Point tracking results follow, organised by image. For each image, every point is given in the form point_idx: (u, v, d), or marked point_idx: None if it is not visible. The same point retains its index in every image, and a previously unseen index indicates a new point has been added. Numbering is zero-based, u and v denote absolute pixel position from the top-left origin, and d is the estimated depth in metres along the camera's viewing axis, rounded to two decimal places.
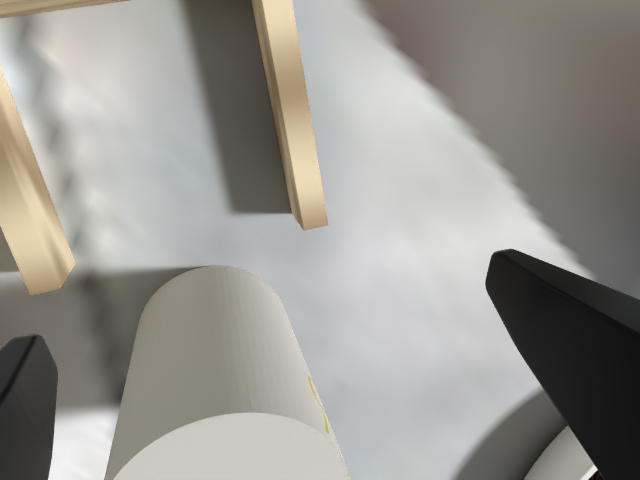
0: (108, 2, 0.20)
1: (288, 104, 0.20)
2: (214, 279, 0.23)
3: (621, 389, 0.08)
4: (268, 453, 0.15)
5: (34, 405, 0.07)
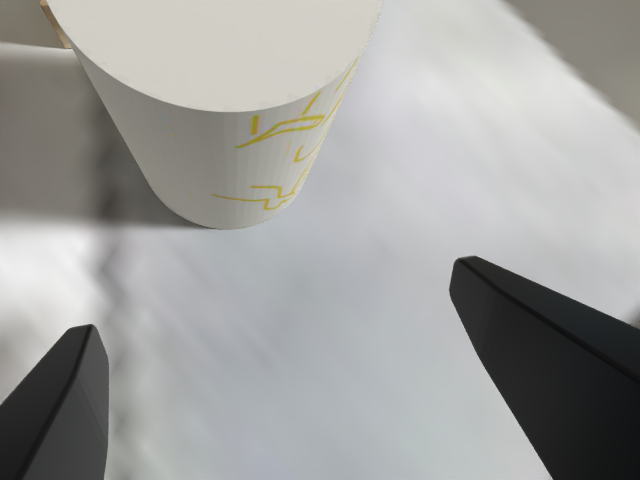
0: None
1: None
2: None
3: (575, 401, 0.07)
4: None
5: (93, 393, 0.08)
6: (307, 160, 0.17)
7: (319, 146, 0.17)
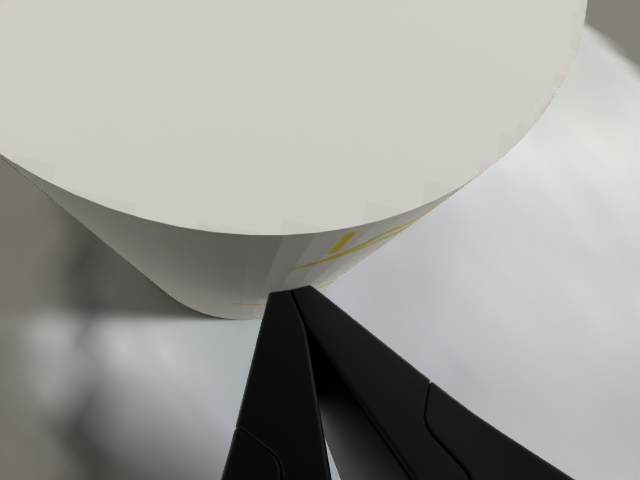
0: None
1: None
2: None
3: (360, 458, 0.07)
4: None
5: None
6: None
7: None
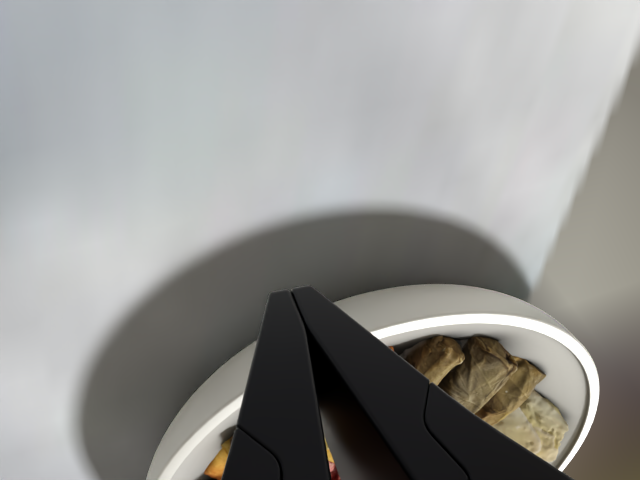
0: None
1: None
2: None
3: (360, 458, 0.07)
4: None
5: None
6: None
7: None
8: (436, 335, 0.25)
